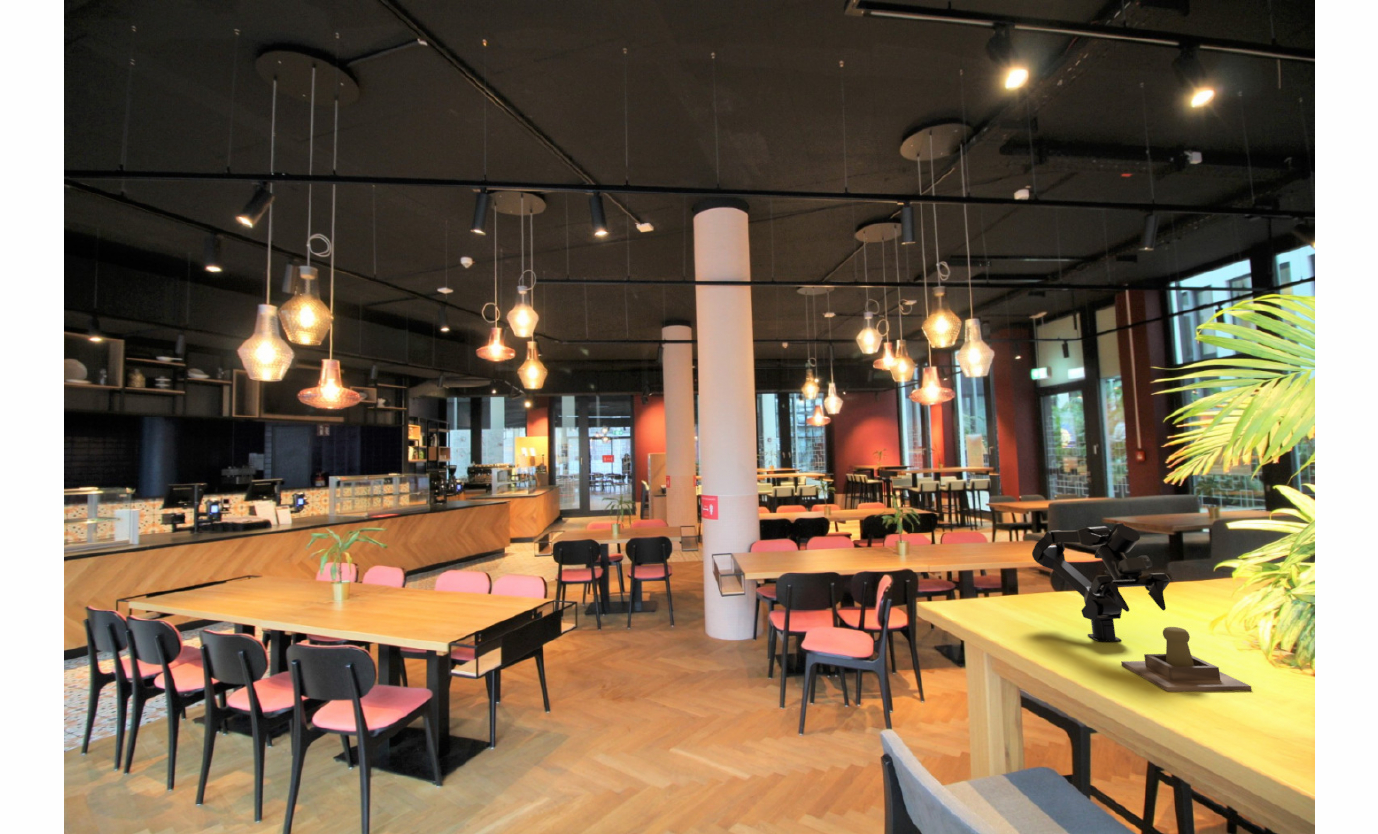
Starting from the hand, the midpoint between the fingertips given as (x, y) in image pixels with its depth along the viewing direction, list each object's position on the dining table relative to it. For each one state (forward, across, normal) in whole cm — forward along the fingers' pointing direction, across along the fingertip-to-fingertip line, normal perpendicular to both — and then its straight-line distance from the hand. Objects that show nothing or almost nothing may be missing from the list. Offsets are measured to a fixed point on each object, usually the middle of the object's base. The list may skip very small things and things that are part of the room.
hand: (1146, 610), depth 158 cm
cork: (+18, -1, 0) cm, 18 cm away
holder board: (+18, -1, +1) cm, 18 cm away
